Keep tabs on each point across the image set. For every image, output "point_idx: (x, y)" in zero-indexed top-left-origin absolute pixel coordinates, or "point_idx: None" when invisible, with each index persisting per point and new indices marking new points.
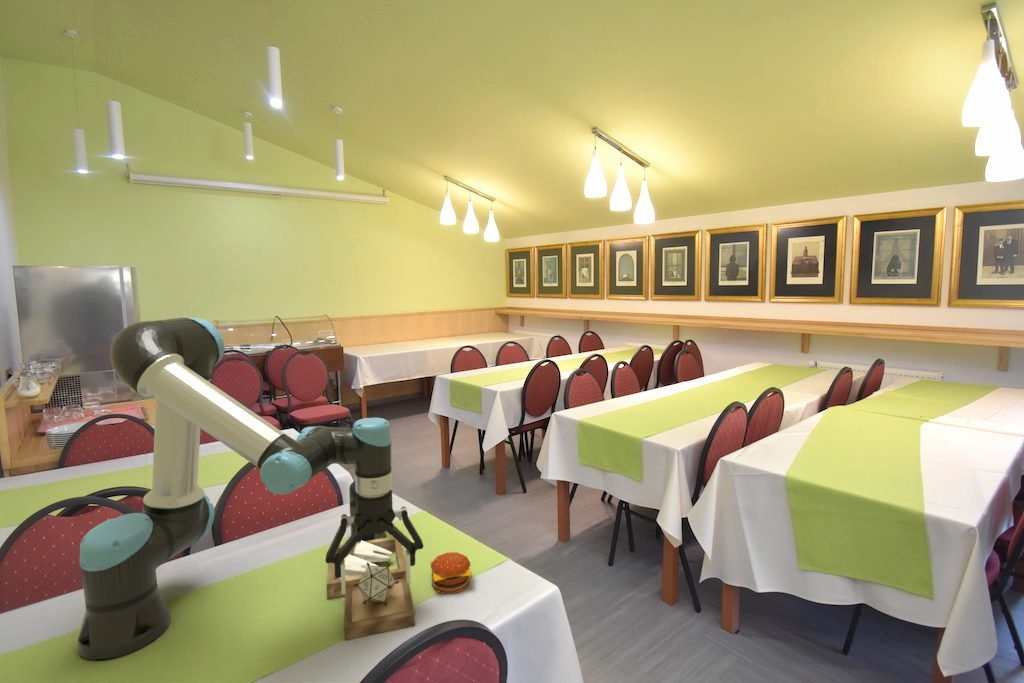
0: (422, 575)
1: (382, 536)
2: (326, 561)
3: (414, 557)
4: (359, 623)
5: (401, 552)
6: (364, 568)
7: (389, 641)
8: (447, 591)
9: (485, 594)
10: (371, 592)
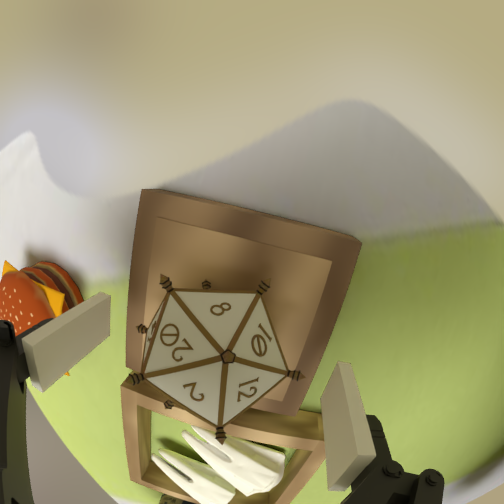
0: (103, 369)
1: (167, 496)
2: (441, 476)
3: (27, 330)
4: (313, 241)
5: (128, 445)
6: (224, 454)
7: (240, 160)
8: (61, 271)
9: (16, 221)
10: (247, 305)
